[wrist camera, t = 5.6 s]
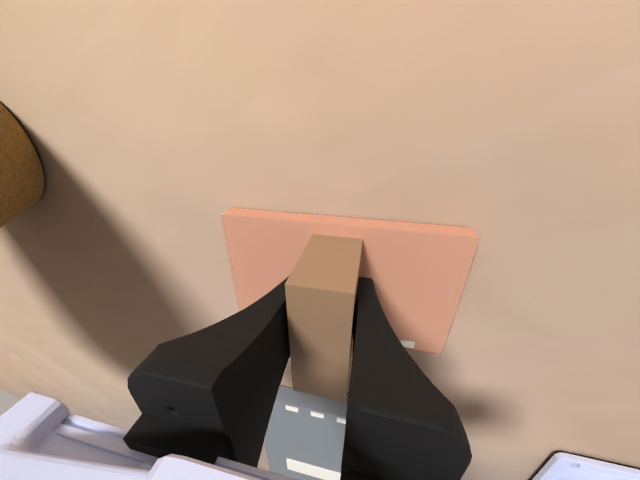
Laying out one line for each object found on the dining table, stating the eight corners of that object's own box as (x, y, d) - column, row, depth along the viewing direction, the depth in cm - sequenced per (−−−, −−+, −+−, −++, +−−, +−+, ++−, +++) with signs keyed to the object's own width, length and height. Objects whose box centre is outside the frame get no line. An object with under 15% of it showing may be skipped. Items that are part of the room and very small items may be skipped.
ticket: (413, 415, 18) (415, 435, 17) (389, 494, 25) (389, 512, 24) (261, 381, 21) (254, 397, 20) (275, 461, 27) (270, 477, 26)
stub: (472, 227, 11) (529, 301, 7) (437, 339, 15) (461, 437, 10) (231, 207, 14) (160, 253, 9) (248, 308, 17) (202, 377, 13)
